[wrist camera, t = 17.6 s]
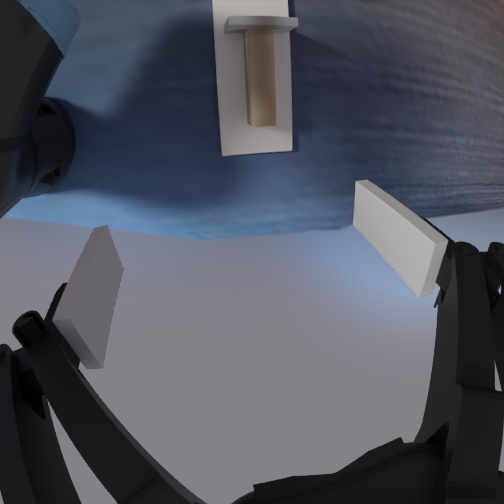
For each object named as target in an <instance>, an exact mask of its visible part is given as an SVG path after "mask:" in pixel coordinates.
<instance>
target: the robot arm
mask: <svg viewBox="0 0 504 504" xmlns="http://www.w3.org/2000/svg"><path fill="white" fill-rule="evenodd" d="M79 25H80V15H79V13H78V11H77V9H76V8H75V7H74V6H73V5H72V4H71V3H70V2H69V1H67V0H0V219H1V218H2V217H3V216H4V215H5V214H6V213H7V212H8V211H9V210H10V209H11V208H12V207H14V206H15V205H16V204H17V203H18V202H19V201H20V200H21V199H22V198H28V197H34V196H39V195H41V194H44V193H46V192H48V191H49V190H51V189H52V188H53V187H54V186H55V185H56V184H58V183H59V182H60V181H61V180H62V179H63V177H64V176H65V175H66V173H67V171H68V169H69V167H70V165H71V162H72V159H73V155H74V148H75V138H74V131H73V127H72V124H71V121H70V119H69V117H68V115H67V113H66V112H65V110H64V109H63V108H62V107H61V106H60V105H59V104H58V103H56V102H55V101H53V100H51V99H49V98H45V97H44V96H45V94H46V91H47V89H48V87H49V85H50V83H51V81H52V78H53V76H54V74H55V72H56V70H57V68H58V66H59V64H60V62H61V61H62V59H64V58H65V57H66V54H67V49H68V47H69V45H70V43H71V41H72V39H73V37H74V36H75V34H76V32H77V30H78V28H79ZM353 226H354V227H355V228H356V229H357V230H358V231H359V232H360V233H361V234H362V235H363V236H364V237H365V238H366V239H367V240H368V241H369V243H370V244H371V245H372V246H373V247H374V248H375V249H376V250H377V251H378V252H379V253H380V254H381V255H382V256H383V257H384V259H386V261H387V262H388V263H389V264H390V265H391V266H392V267H393V268H394V270H395V271H396V272H397V273H398V274H399V275H400V276H401V277H402V279H403V280H404V281H405V282H406V283H407V284H408V285H409V287H411V289H412V290H413V291H414V292H415V293H416V295H417V296H418V297H419V298H422V297H424V296H427V295H430V294H432V292H433V289H434V286H435V283H437V284H438V285H439V286H440V287H441V288H440V291H439V293H438V296H437V299H436V302H435V305H434V307H435V308H436V306H437V304H438V313H437V328H436V340H435V349H434V358H433V366H432V373H431V380H430V386H429V392H428V397H427V403H426V408H425V412H424V417H423V422H422V425H421V428H420V430H419V432H418V434H417V436H416V438H415V440H414V442H411V443H403V440H402V438H401V437H399V438H397V439H395V440H393V441H391V442H388V443H386V444H384V445H382V446H379V447H377V448H375V449H372V450H370V451H368V452H367V453H365V454H364V455H362V456H361V457H359V458H358V459H356V460H355V461H353V462H352V463H351V464H349V465H347V466H346V467H344V468H343V469H341V470H340V471H338V472H336V473H332V474H322V475H309V476H291V477H287V478H283V479H279V480H274V481H270V482H265V483H260V484H255V485H253V487H254V491H252V492H250V493H248V494H246V495H244V496H242V497H240V498H239V499H237V500H236V501H234V502H233V503H232V504H504V472H502V471H499V470H498V469H499V462H500V455H501V447H502V438H503V425H504V244H502V243H500V242H499V243H498V242H492V243H490V245H489V249H488V251H487V252H479V250H478V249H477V248H476V247H475V246H473V245H471V244H470V243H467V242H461V241H460V242H456V243H455V242H454V241H453V240H452V239H450V238H449V237H448V236H447V235H446V234H444V233H443V232H442V231H441V230H439V229H438V228H437V227H436V226H433V224H432V223H431V222H429V221H428V220H427V219H425V218H423V217H421V216H418V215H416V214H415V213H414V212H412V211H411V210H410V209H408V208H407V207H406V206H404V205H403V204H401V203H400V202H399V201H397V200H396V199H395V198H393V197H392V196H390V195H389V194H388V193H386V192H385V191H383V190H382V189H380V188H379V187H378V186H376V185H375V184H373V183H372V182H370V181H369V180H360V181H356V184H355V203H354V219H353ZM123 270H124V269H123V266H122V264H121V261H120V258H119V256H118V253H117V250H116V248H115V245H114V243H113V240H112V237H111V234H110V231H109V228H108V225H105V226H101V227H97V228H94V230H93V232H92V234H91V235H90V237H89V239H88V241H87V243H86V245H85V247H84V249H83V251H82V253H81V255H80V257H79V259H78V261H77V263H76V266H75V268H74V270H73V272H72V274H71V276H70V279H69V281H68V282H67V283H63V284H62V285H61V287H60V288H59V289H58V290H57V292H56V294H55V296H54V298H53V301H52V302H51V305H50V308H49V309H48V312H47V314H46V317H45V319H44V320H43V319H42V317H41V316H40V314H39V313H38V312H37V311H28V312H26V313H24V314H22V315H21V316H20V317H19V318H18V319H17V320H16V322H15V323H14V325H13V328H12V332H13V334H14V335H15V337H16V338H17V340H18V341H19V342H20V343H21V345H22V346H23V347H22V348H20V349H18V350H15V351H12V350H11V348H10V347H9V346H8V345H7V344H1V345H0V491H1V495H2V499H3V502H4V504H81V502H80V499H79V497H78V494H77V492H76V490H75V487H74V485H73V483H72V480H71V477H70V475H69V472H68V469H67V467H66V464H65V461H64V458H63V455H62V452H61V449H60V446H59V443H58V439H57V436H56V432H55V429H54V425H53V421H52V418H51V414H50V410H49V406H48V401H49V403H50V405H51V407H52V409H53V410H54V412H55V414H56V416H57V418H58V419H59V421H60V423H61V424H62V426H63V428H64V430H65V431H66V432H67V434H68V436H69V438H70V439H71V441H72V442H73V444H74V445H75V447H76V448H77V450H78V451H79V453H80V454H81V456H82V457H83V459H84V460H85V462H86V463H87V464H88V466H89V467H90V469H91V470H92V471H93V473H94V474H95V475H96V477H97V478H98V479H99V481H100V482H101V483H102V484H103V485H104V487H105V488H106V489H107V491H108V492H109V493H110V494H111V495H112V497H113V498H114V499H115V500H116V502H117V503H118V504H207V503H205V502H204V501H202V500H201V499H200V498H198V497H197V496H196V495H194V494H193V493H192V492H190V491H189V490H188V489H187V488H186V487H184V486H183V485H182V484H181V483H180V482H179V481H178V480H176V479H175V478H174V477H173V476H172V475H171V474H170V473H169V472H168V471H167V470H165V469H164V468H163V467H162V466H161V465H160V464H159V463H158V462H157V461H156V460H155V459H154V458H153V457H152V456H151V455H150V454H149V453H148V452H147V451H146V450H145V449H144V448H143V447H142V446H141V445H140V444H139V443H138V442H137V440H135V438H133V436H132V435H131V434H130V433H129V432H128V431H127V430H126V428H125V427H124V426H123V425H122V424H121V423H120V421H119V420H118V419H117V418H116V417H115V416H114V414H113V413H112V412H111V411H110V410H109V408H108V407H107V406H106V405H105V403H104V402H103V401H102V399H101V398H100V397H99V396H98V394H97V393H96V392H95V390H94V389H93V388H92V386H91V385H90V384H89V382H88V381H87V380H86V378H85V377H84V375H83V374H82V373H81V372H80V370H79V369H78V367H79V363H80V361H81V362H82V364H83V365H84V366H85V368H86V369H98V368H103V366H104V359H105V353H106V347H107V342H108V336H109V331H110V326H111V321H112V316H113V312H114V307H115V303H116V299H117V294H118V290H119V286H120V282H121V278H122V274H123ZM500 285H501V294H499V292H498V290H499V288H500ZM494 360H495V364H496V367H497V372H498V375H499V380H500V385H501V389H502V391H496V390H495V364H494ZM47 399H48V401H47Z"/></svg>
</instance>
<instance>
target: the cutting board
mask: <svg viewBox="0 0 504 504" xmlns="http://www.w3.org/2000/svg"><path fill="white" fill-rule="evenodd" d="M212 3H213V25H214V45H215V62H216V79H217V95H218V110H219V124H220V138H221V151H222V156H230V155H240V154H252V153H265V152H281V151H292V90H291V57H290V33H289V31H288V32H287V33H285V34H278V33H273V35H274V60H275V92H276V126H260V127H252V126H251V125H249V124H248V123H247V105H246V82H245V60H244V37H243V33H232V34H224V24H225V22H226V20H227V18H228V16H280V17H289V14H288V0H212Z"/></svg>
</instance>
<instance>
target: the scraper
mask: <svg viewBox="0 0 504 504" xmlns="http://www.w3.org/2000/svg"><path fill="white" fill-rule="evenodd" d="M296 27H298V18H295V17H280V16H228V18H227V20H226V22H225V24H224V34H232V33H243V37H244V60H245V82H246V105H247V123H248V124H249V125H251V126H252V127H260V126H276V92H275V60H274V35H273V33H278V34H285V33H287V32H288V31H290V30H292V29H294V28H296Z"/></svg>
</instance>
